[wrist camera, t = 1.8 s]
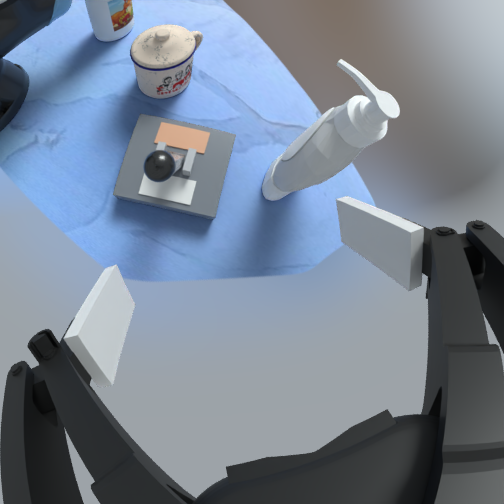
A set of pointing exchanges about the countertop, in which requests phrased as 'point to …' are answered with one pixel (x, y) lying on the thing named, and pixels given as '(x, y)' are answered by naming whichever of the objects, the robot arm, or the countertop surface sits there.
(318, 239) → the countertop surface
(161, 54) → the teacup with lid
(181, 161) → the lever
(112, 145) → the countertop surface
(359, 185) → the countertop surface
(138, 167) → the switch base
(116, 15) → the milk bottle
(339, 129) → the soap bottle
